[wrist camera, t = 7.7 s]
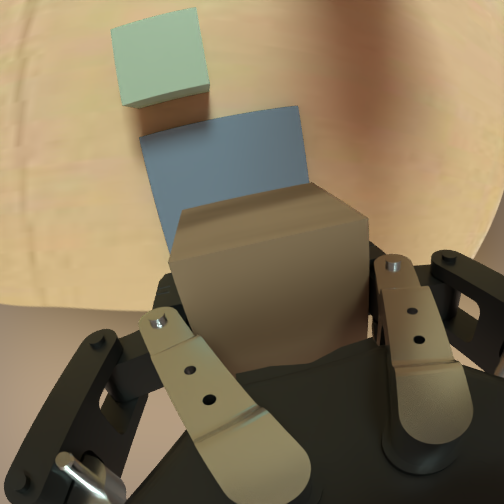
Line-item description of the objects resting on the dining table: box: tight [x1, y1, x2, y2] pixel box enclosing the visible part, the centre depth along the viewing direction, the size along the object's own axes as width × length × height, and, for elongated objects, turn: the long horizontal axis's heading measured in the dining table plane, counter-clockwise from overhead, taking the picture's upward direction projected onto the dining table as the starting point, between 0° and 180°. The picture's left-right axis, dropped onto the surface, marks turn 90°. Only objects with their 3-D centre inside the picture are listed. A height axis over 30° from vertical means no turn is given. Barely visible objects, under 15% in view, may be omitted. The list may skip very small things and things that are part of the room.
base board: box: [139, 106, 309, 254], centre depth 24 cm, size 12×12×1 cm
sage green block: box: [111, 7, 210, 109], centre depth 17 cm, size 6×6×5 cm
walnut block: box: [168, 182, 369, 379], centre depth 11 cm, size 6×6×5 cm
